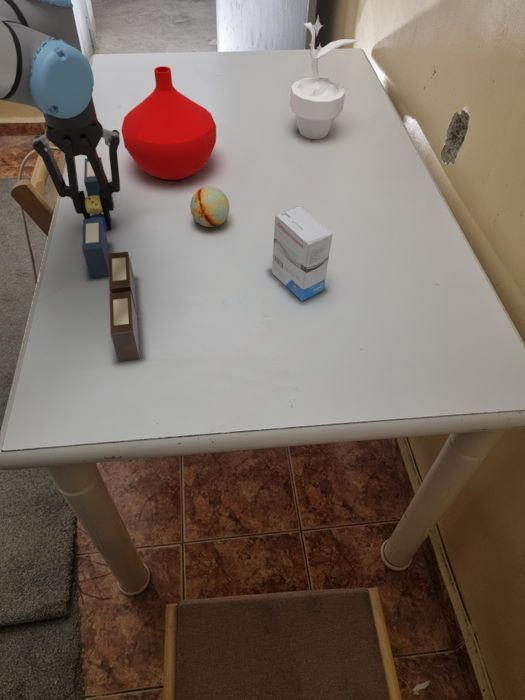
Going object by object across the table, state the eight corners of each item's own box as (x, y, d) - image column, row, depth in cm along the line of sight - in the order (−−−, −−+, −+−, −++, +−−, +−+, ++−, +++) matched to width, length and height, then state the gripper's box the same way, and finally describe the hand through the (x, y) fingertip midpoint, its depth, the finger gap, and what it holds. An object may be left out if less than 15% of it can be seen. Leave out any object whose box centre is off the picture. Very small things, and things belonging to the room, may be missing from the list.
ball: (235, 216, 97) (234, 183, 92) (222, 238, 93) (220, 205, 87) (200, 208, 98) (197, 175, 93) (185, 230, 94) (182, 196, 89)
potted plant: (284, 143, 114) (293, 15, 95) (291, 118, 122) (300, -6, 102) (341, 149, 113) (362, 21, 94) (344, 124, 121) (364, 0, 101)
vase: (201, 137, 115) (194, 43, 100) (230, 181, 104) (228, 83, 90) (119, 153, 110) (100, 56, 95) (141, 200, 99) (124, 100, 85)
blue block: (91, 278, 85) (82, 249, 80) (91, 186, 102) (84, 157, 97) (109, 276, 86) (101, 247, 81) (107, 184, 102) (100, 156, 98)
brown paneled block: (118, 361, 74) (110, 333, 70) (116, 281, 85) (108, 252, 80) (139, 359, 75) (132, 331, 70) (134, 279, 85) (128, 250, 81)
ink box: (324, 290, 85) (334, 233, 76) (300, 302, 83) (308, 244, 74) (293, 261, 89) (299, 203, 80) (270, 272, 87) (273, 213, 78)
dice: (107, 241, 91) (99, 210, 86) (92, 242, 91) (83, 212, 86) (107, 214, 96) (99, 183, 91) (92, 215, 96) (84, 185, 91)
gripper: (119, 79, 79) (142, 208, 97) (10, 85, 77) (55, 217, 95) (120, 101, 74) (145, 233, 92) (5, 109, 72) (53, 243, 90)
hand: (99, 225), depth 94 cm, fingers open, 3 cm apart
